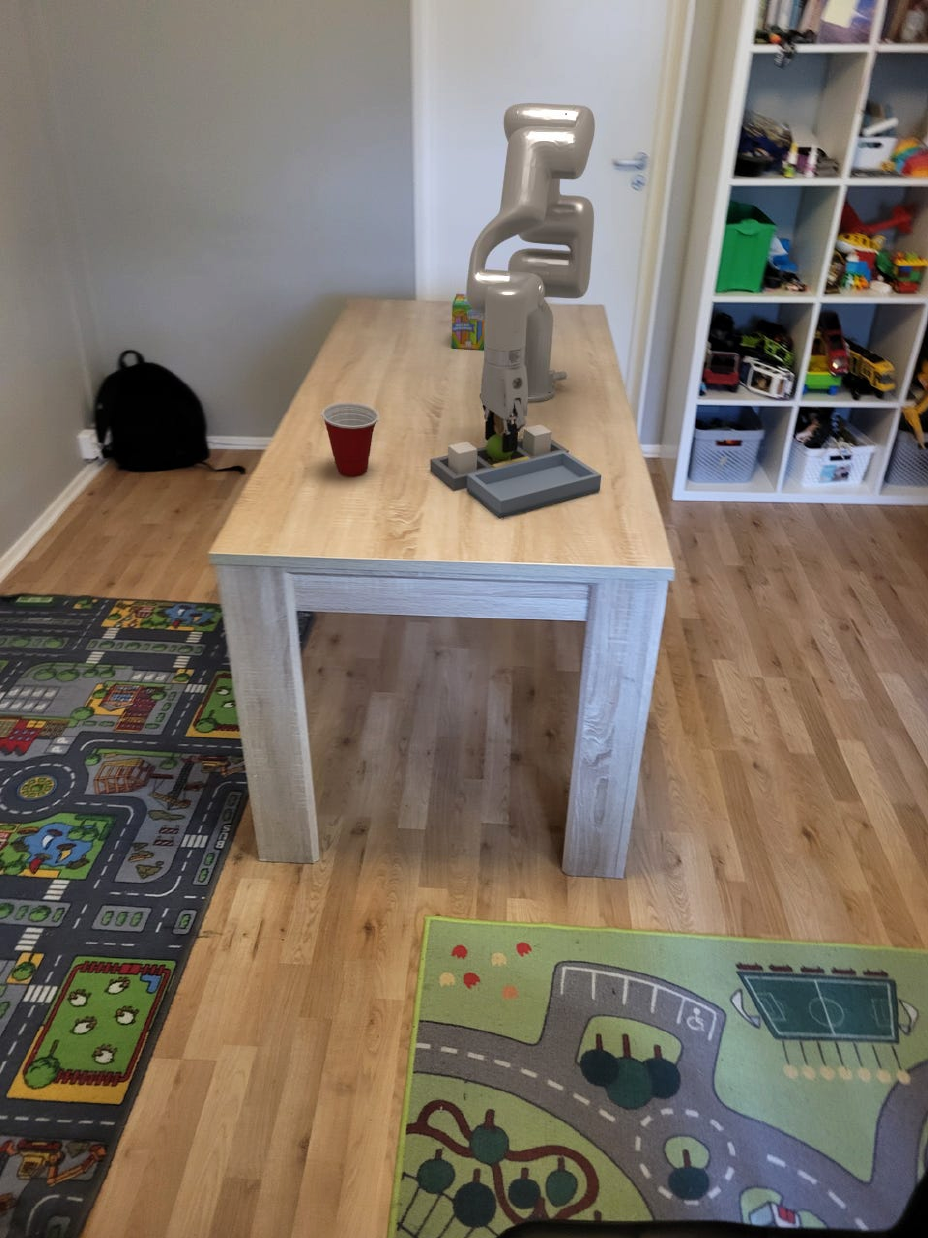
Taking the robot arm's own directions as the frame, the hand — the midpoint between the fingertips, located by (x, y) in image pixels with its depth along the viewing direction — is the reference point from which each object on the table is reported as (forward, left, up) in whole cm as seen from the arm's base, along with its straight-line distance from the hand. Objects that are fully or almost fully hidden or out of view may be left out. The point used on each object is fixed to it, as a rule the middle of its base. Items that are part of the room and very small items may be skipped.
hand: (501, 443), depth 181 cm
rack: (0, 0, -5) cm, 5 cm away
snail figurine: (0, 0, -4) cm, 4 cm away
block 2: (-8, 0, -5) cm, 9 cm away
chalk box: (-31, -65, -5) cm, 72 cm away
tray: (0, +12, -5) cm, 13 cm away
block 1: (+9, 0, -5) cm, 10 cm away
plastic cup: (+26, -12, -5) cm, 29 cm away
